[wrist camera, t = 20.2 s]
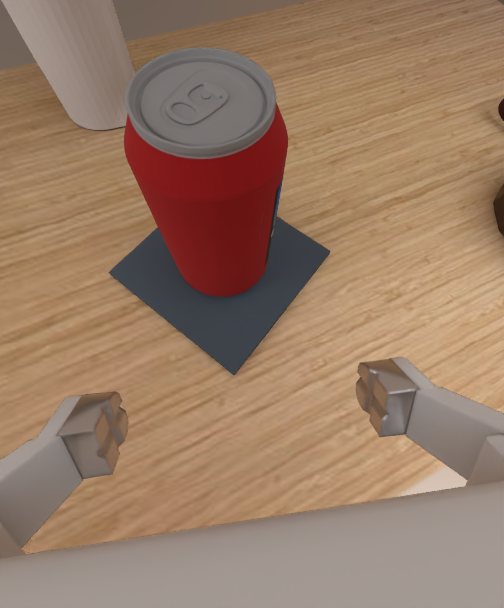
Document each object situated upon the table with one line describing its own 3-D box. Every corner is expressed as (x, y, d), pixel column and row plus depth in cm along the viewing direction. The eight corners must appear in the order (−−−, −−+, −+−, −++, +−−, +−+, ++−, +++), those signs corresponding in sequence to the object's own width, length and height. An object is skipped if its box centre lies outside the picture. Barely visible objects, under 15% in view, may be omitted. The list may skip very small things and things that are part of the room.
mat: (234, 375, 18) (234, 374, 18) (110, 274, 21) (108, 272, 20) (329, 253, 22) (330, 251, 22) (214, 179, 24) (214, 175, 24)
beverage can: (285, 256, 21) (333, 89, 10) (226, 319, 19) (204, 201, 8) (221, 209, 23) (199, 15, 11) (160, 263, 21) (62, 95, 10)
